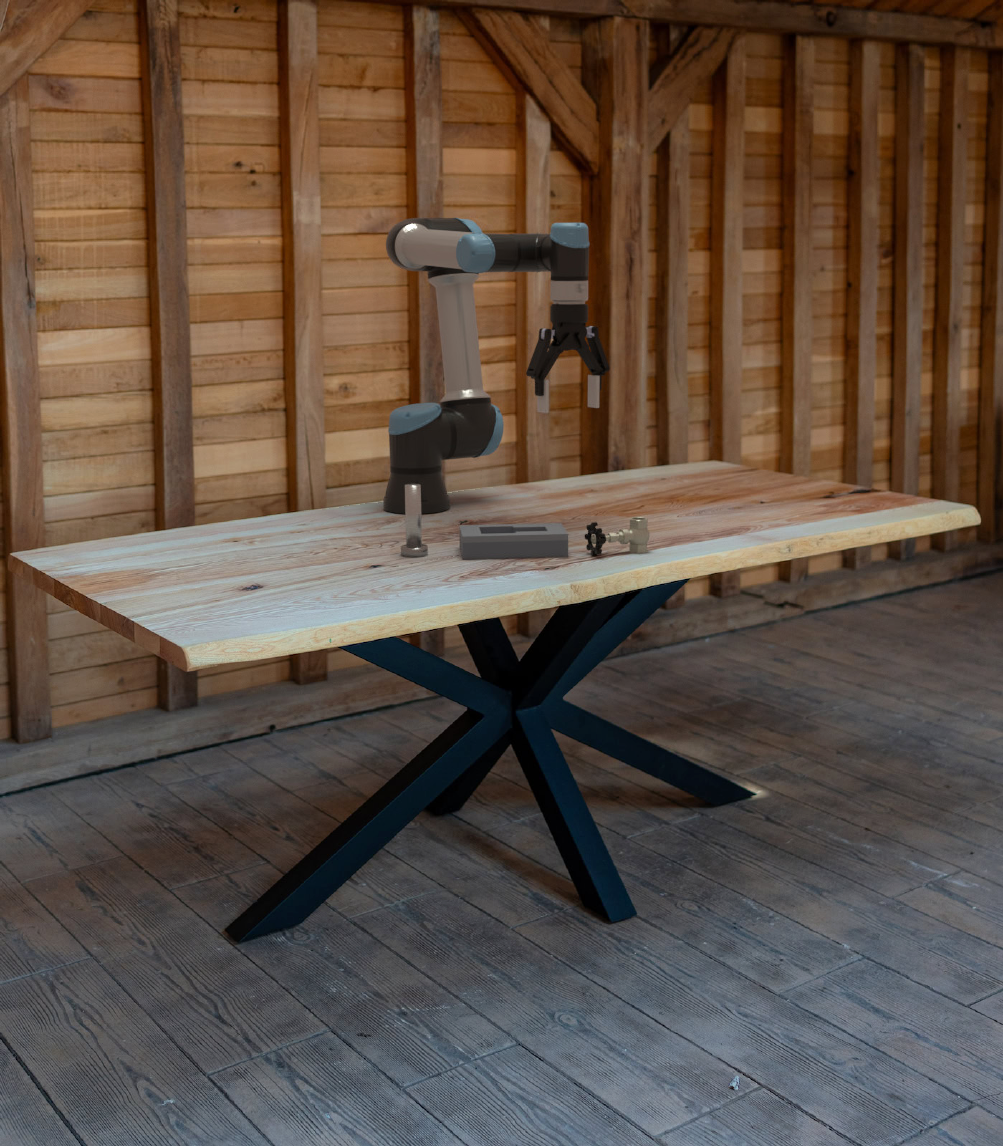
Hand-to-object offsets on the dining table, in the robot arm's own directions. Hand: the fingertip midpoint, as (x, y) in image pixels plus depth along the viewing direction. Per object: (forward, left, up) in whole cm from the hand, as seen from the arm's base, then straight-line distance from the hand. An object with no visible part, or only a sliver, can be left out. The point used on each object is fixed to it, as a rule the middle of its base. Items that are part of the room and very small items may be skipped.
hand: (568, 410), depth 273 cm
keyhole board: (+2, -22, -25) cm, 33 cm away
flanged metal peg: (-12, -35, -25) cm, 44 cm away
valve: (+20, -10, -26) cm, 34 cm away
